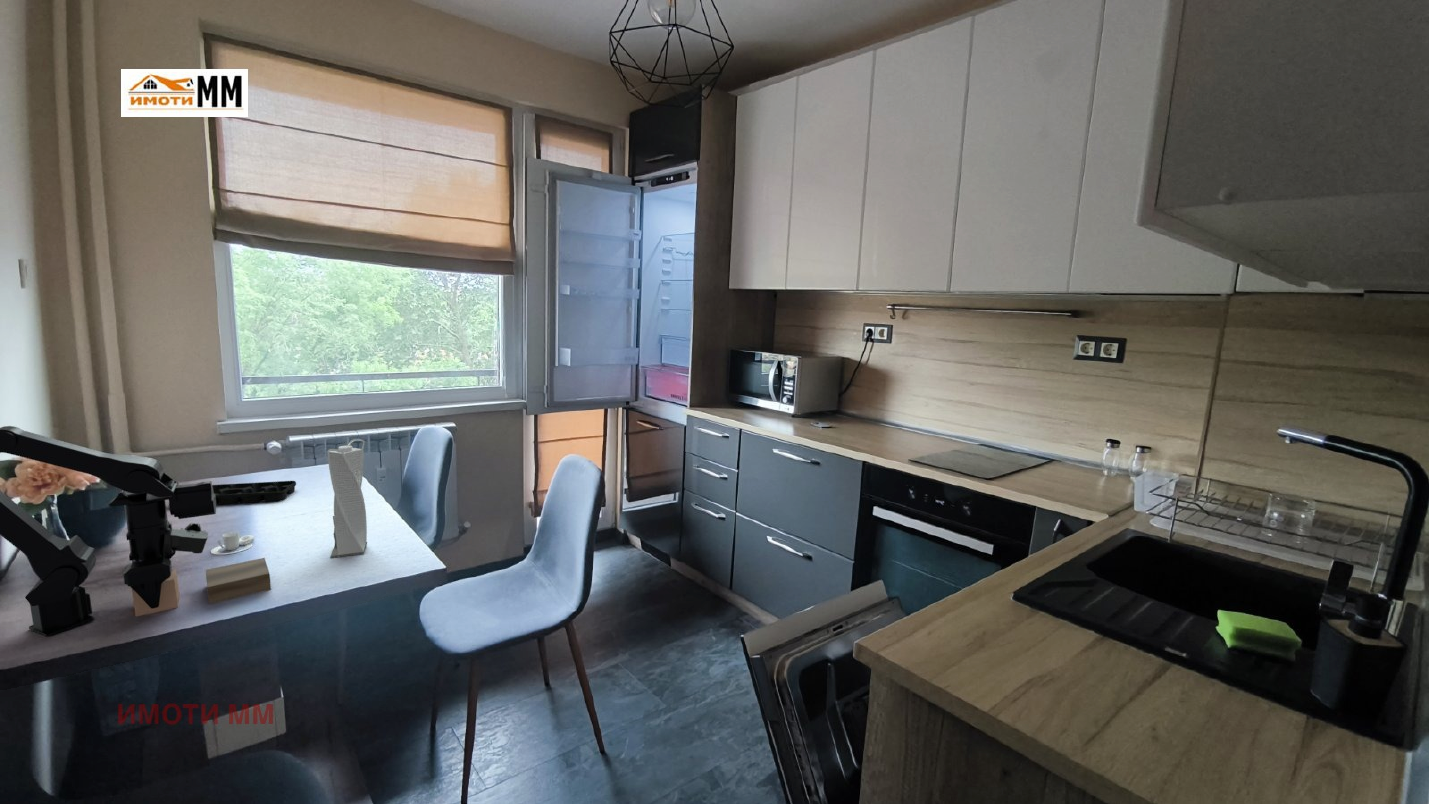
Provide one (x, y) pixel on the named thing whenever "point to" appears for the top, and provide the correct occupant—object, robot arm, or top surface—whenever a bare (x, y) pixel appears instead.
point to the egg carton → (253, 492)
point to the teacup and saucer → (233, 543)
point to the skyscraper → (348, 500)
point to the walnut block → (237, 580)
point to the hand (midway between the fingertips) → (157, 598)
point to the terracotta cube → (167, 597)
